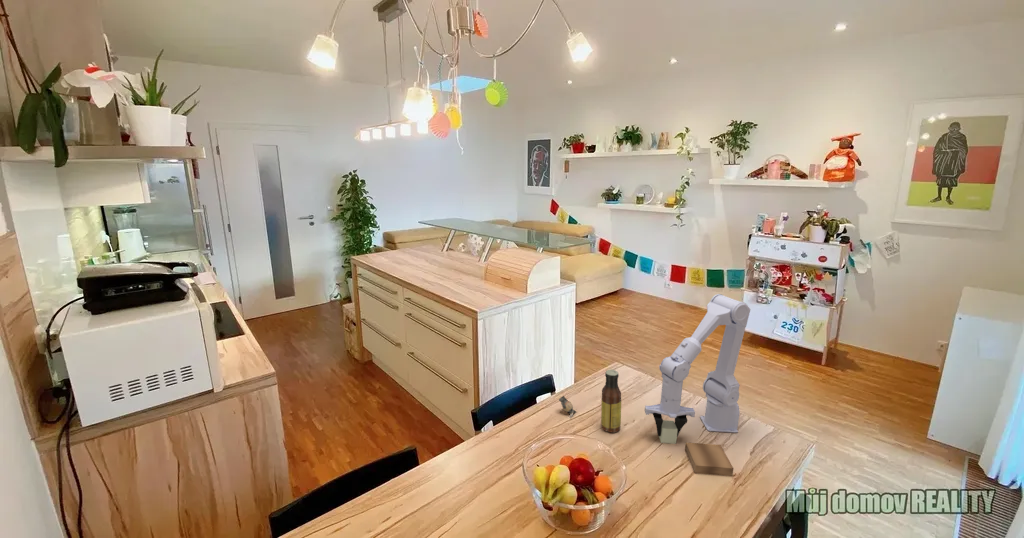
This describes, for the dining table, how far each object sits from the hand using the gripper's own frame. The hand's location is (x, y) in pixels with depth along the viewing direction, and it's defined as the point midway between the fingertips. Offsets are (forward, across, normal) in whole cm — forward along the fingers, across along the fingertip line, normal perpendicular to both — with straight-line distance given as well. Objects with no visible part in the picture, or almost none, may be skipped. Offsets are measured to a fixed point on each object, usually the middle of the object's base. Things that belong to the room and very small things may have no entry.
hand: (667, 434), depth 134 cm
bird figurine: (+2, -31, +11) cm, 33 cm away
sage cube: (+1, 0, 0) cm, 1 cm away
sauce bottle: (+2, -17, +4) cm, 18 cm away
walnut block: (+2, +9, -10) cm, 14 cm away
